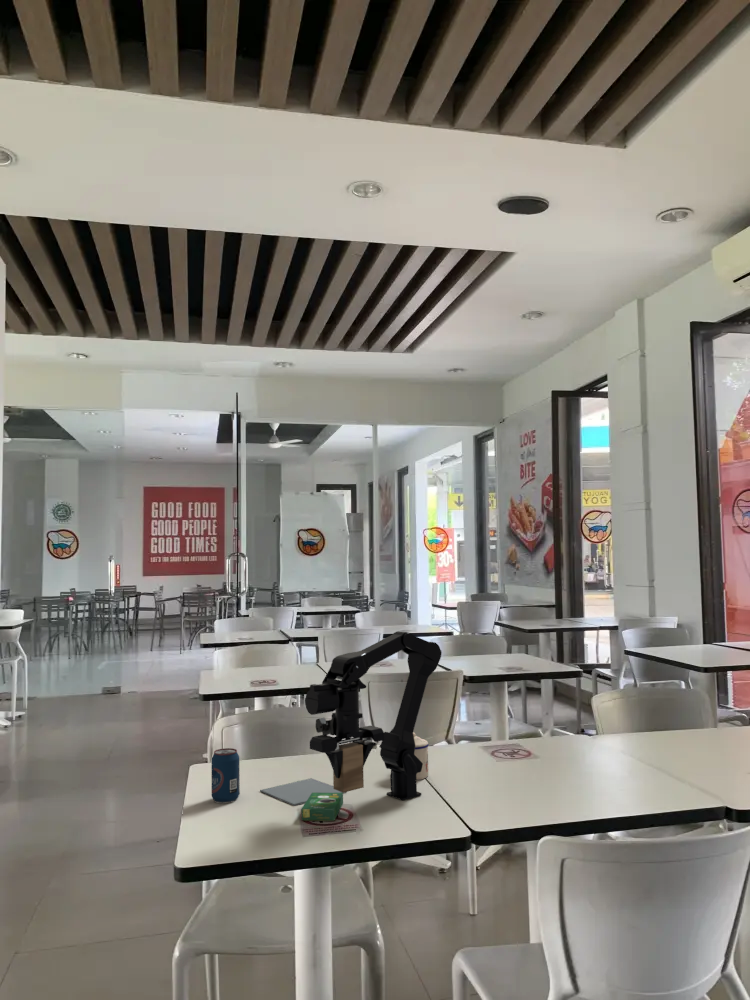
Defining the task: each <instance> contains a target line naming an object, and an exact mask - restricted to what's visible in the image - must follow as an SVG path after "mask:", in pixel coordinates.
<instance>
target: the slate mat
mask: <svg viewBox="0 0 750 1000" xmlns="http://www.w3.org/2000/svg"><path fill="white" fill-rule="evenodd" d="M259 793H263V794H265V795H267V796H269V797H272V798H275V799H277V800H279V801H281V802H284V803H287V804H289V805H291V806H293V807H294V806H295V807H296V806H298V805H304V804H305V803H306V801H307V800H308V798H309V797H310V795H311V793H343V792H340V791H338V790H335V789H334V785H331V784H328V783H326V782H323V781H321V780H317V779H315V778H312V777H310V778H307V779H302V780H298V781H293V782H288V783H285V784H281V785H276V786H271V787H267V788H263V789H260V790H259ZM346 793H347V792H344V793H343V794H346Z"/></svg>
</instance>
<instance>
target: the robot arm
mask: <svg viewBox="0 0 750 1000" xmlns="http://www.w3.org/2000/svg"><path fill="white" fill-rule="evenodd" d="M401 651H402V652H403V653H404V654H406V655H408V656H407V665H408V670H409V673H408V677H407V681H406V683H405V684H406V685H405V688H404V691H403V695H402V698H401V701H400V706H399V709H398V712H397V717H396V720H395V723H394V726H393V728H392V729H391V730H390V731H389V732H388V731H384V730H383V728H382V727H377V726H375V725H374V726H373V725H365V726H361V727H360V719H363V717H364V716H363V713H361V712H360V696H359V695H360V694H359V693H360V691H359V690H363V689H366V688H367V685H366V684H364V682H363V681H362V680H361V678H362V677H363V676H364V675H366V674H367V673H368V671H369V669H370V668H372V667H373V666H374V665H376V664H378V663H379V662H382V661H383V660H385V659H387V658H390V657H391V656H393V655H395V654H397V653H399V652H401ZM442 653H443V652H442V650H441V647H440V645H439V644H438V643H437V642H433V641H428V640H425V639H423V638H421V637H418V636H415V635H414V634H412V633H411V632H409V631H399V630H398V631H395V632H393V634H392V635H389V636H387V637H385V638H383V639H381V640H379V641H377V642H375V643H373V644H371V645H369V646H367V647H365V648H363V649H362V650H358V651H352V652H347V653H343V654H340V655H336V656H335V657H334V658H333V659H332V661H331V664H330V667H329V669H328V670H327V673H326V675H325V676H324V678H323V681H322V682H321V684H320V683H319V684H316V683H314V684H312V683H311V684H309V690H307V692H306V695H305V698H304V704H305V708H306V710H307V713H308V714H310V715H311V716H312V715H319V714H320V715H321V714H326V713H332V714H331V719H329V720H327V719H326V718H325V717H319V718H317V719H315V730H316V733H317V734H318V733H322V735H315V736H312V737H311V738H310V740H309V750H312V751H316V752H317V753H318V752H319V753H322V754H323V753H324V754H326V757H327V758H328V760H329V763H330V765H331V768H332V772H333V771H334V774H335V776H336V778H340V774H341V766H342V756H343V750H339V745H341V744H346V743H351V742H354V743H358V744H361V745H363V768H364V766H365V764H366V762H367V760H368V757H369V756H370V753H371V751H372V749H373V748H374V746H377V743H378V742H381V743H380V745H379V748H380V750H379V755H380V757H381V760H382V761H383V762H384V765H385V768H386V769H387V770H390V776H389V777H390V782H389V783H390V791H388V792H386V796H389V797H392V798H395V799H398V800H401V801H405V800H409V799H413V798H416V797H419V796H422V792H420V791H417V789H418V788H417V787H418V786H417V782H418V781H417V780H416V774H417V773H419V772H421V770H422V765H423V763H422V762H421V761H420V760H419V759H418V758H417V757H416V756H415V755H414V752H415V741H414V736H413V732H414V731H415V727H416V723H417V720H418V715H419V712H420V708H421V704H422V701H423V697H424V694H425V690H426V686H427V683H428V680H429V677H431V675H432V674H433V673H434V671H436V669H437V667H438V665H439V663H440V661H441V658H442Z"/></svg>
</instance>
